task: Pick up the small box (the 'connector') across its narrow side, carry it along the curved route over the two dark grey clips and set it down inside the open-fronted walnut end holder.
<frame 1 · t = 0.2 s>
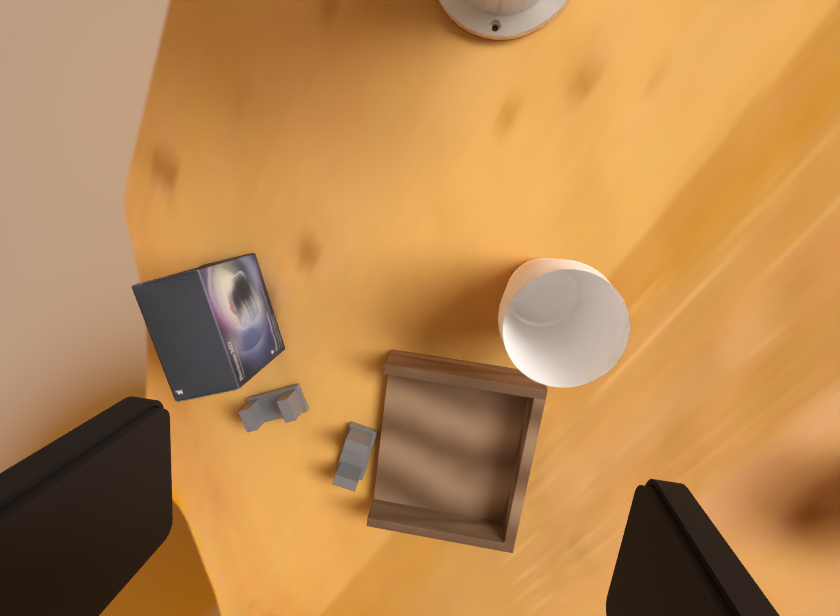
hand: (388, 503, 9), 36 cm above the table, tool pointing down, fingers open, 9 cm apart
clip 1: (278, 402, 50), on the table
small box: (246, 307, 48), on the table
holder: (453, 440, 49), on the table
cup: (541, 292, 45), on the table
clip 2: (357, 449, 51), on the table
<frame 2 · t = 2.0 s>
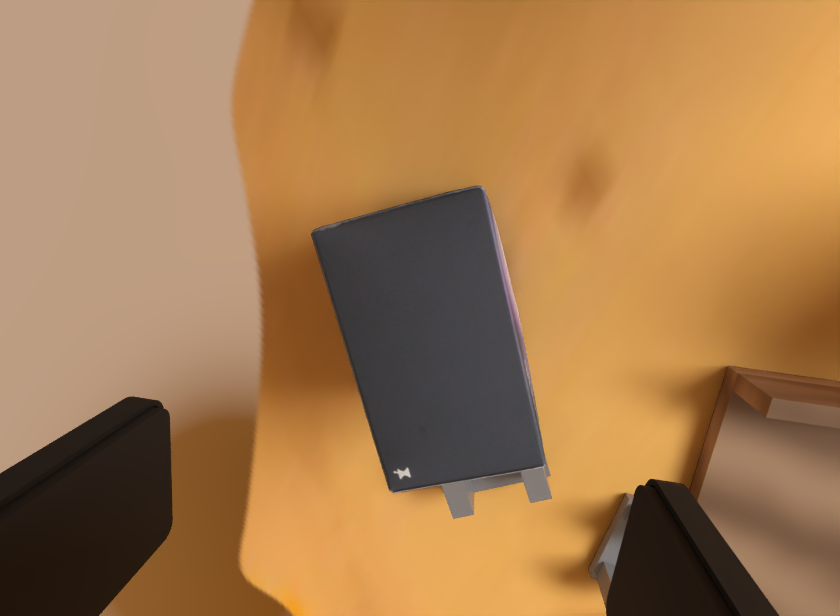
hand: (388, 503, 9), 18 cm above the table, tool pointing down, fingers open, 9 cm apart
clip 1: (493, 459, 29), on the table
small box: (449, 290, 27), on the table
holder: (818, 528, 27), on the table
clip 2: (630, 540, 29), on the table
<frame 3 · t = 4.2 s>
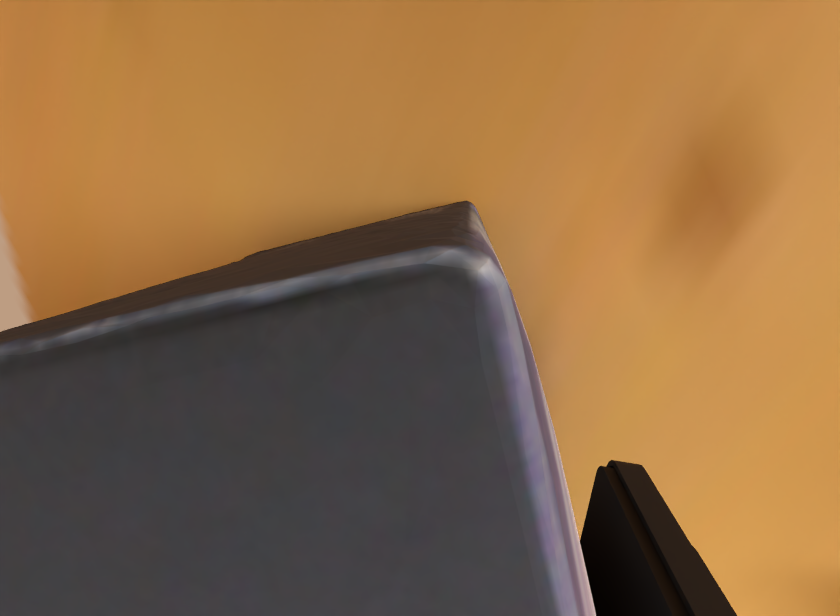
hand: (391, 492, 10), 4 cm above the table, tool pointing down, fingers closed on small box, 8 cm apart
small box: (412, 407, 13), on the table, touching gripper
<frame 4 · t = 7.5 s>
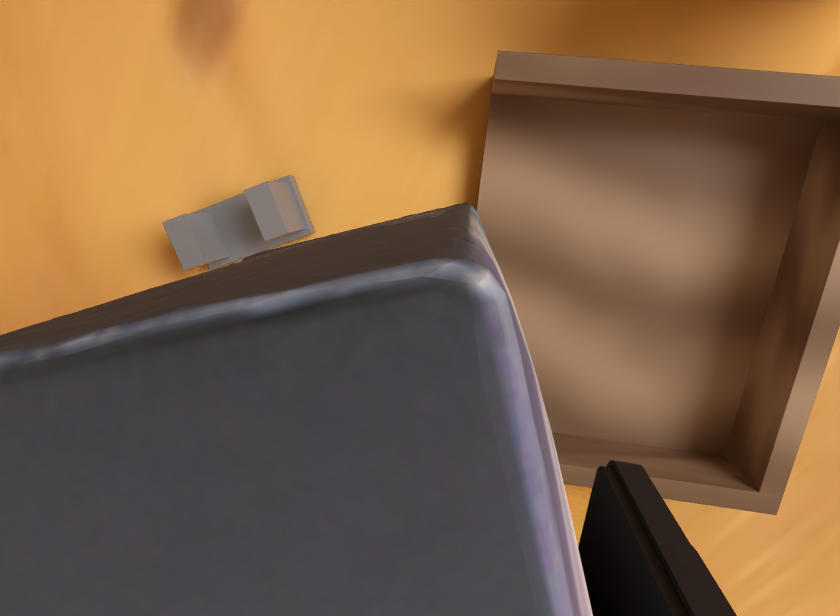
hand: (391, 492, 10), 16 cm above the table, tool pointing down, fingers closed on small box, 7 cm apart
clip 1: (253, 223, 25), on the table
small box: (411, 408, 13), point 12 cm above the table, touching gripper
holder: (619, 284, 23), on the table
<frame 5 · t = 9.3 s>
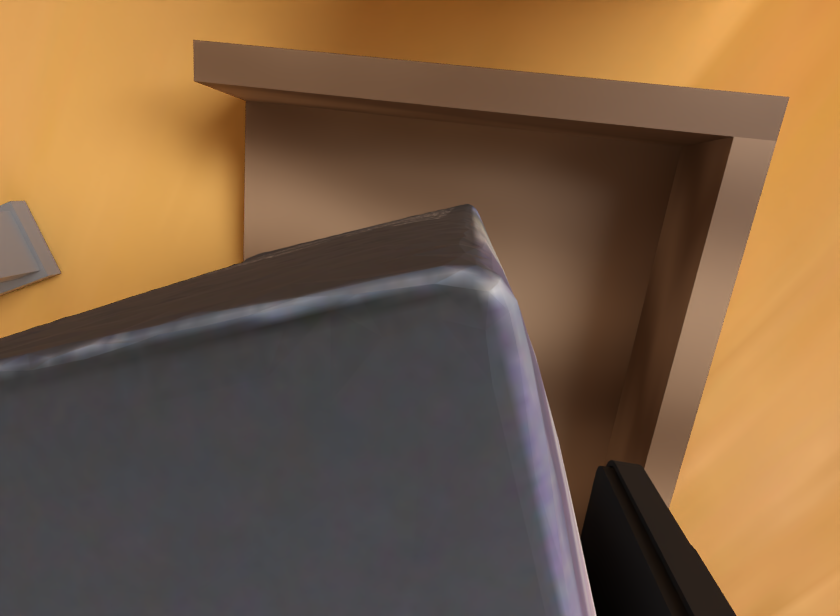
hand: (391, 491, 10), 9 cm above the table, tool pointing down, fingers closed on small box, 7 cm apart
small box: (412, 409, 13), point 5 cm above the table, touching gripper
holder: (442, 349, 18), on the table
when the fingers open (6 cm above the table, at t = 10.8 s): small box drops 2 cm, resting on holder.
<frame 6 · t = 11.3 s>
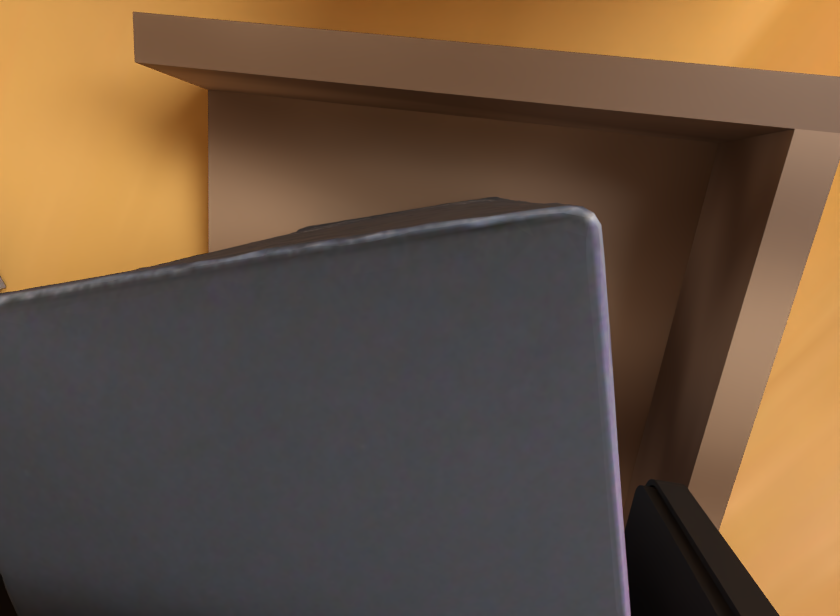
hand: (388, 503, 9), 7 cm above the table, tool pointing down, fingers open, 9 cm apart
small box: (430, 375, 15), point 1 cm above the table, touching holder
holder: (438, 375, 16), on the table
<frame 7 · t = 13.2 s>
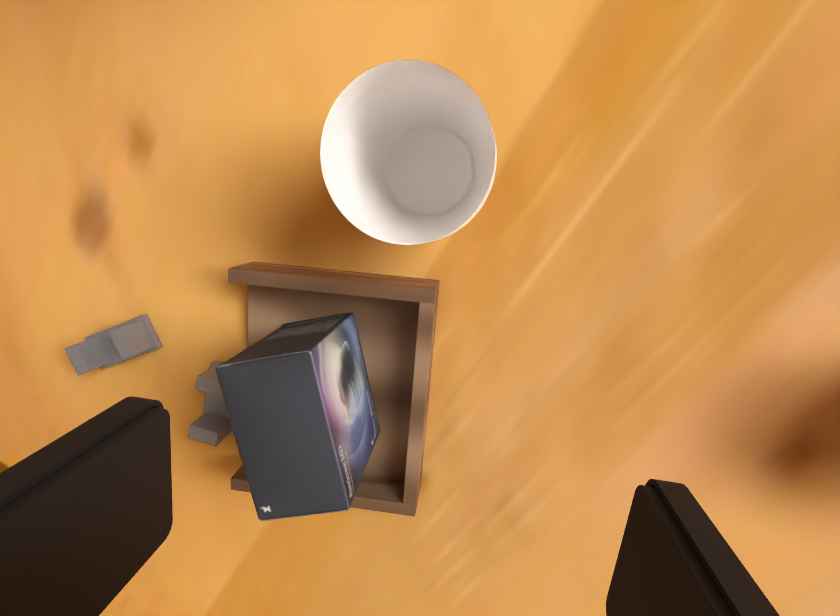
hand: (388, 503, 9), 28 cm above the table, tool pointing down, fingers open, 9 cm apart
clip 1: (126, 341, 41), on the table
small box: (334, 377, 38), point 1 cm above the table, touching holder
holder: (340, 378, 39), on the table
cup: (429, 171, 35), on the table
clip 2: (225, 396, 41), on the table
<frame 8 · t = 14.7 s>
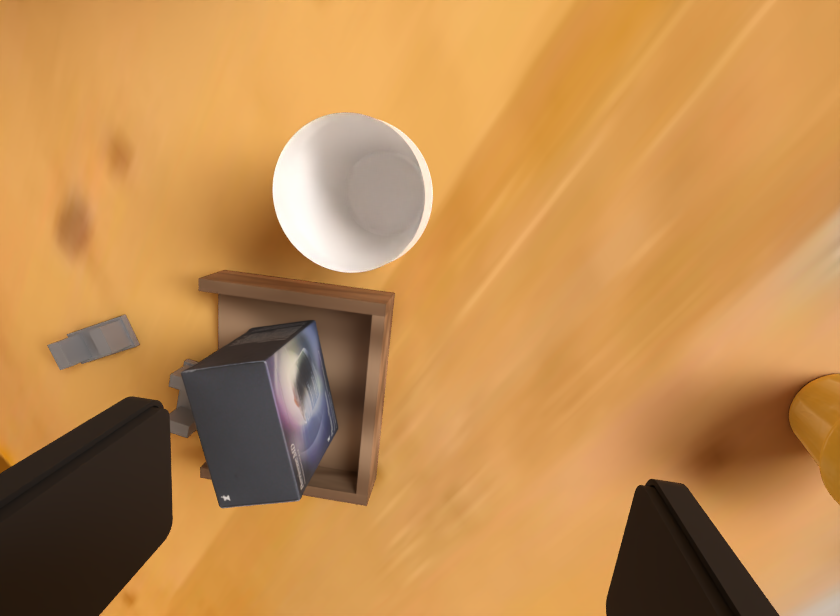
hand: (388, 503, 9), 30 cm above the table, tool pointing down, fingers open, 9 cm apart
clip 1: (105, 338, 44), on the table
small box: (297, 378, 42), point 1 cm above the table, touching holder
holder: (303, 378, 42), on the table
cup: (386, 193, 38), on the table
plant pot: (829, 411, 38), on the table
clip 2: (198, 392, 44), on the table
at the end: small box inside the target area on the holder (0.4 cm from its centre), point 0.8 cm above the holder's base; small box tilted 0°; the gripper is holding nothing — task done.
